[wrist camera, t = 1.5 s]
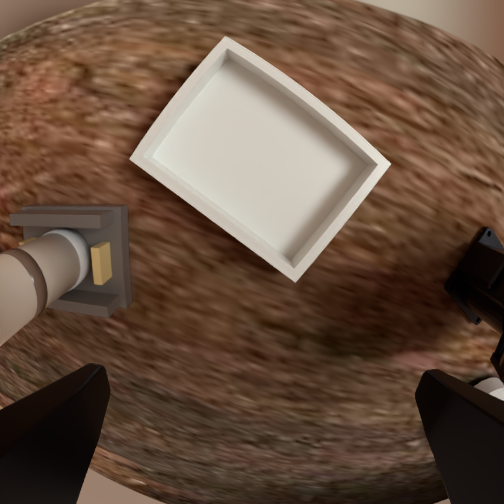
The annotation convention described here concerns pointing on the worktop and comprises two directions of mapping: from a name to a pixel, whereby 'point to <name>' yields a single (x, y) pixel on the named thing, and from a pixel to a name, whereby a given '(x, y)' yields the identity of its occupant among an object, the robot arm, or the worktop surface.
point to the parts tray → (260, 157)
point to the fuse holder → (102, 251)
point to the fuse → (40, 276)
